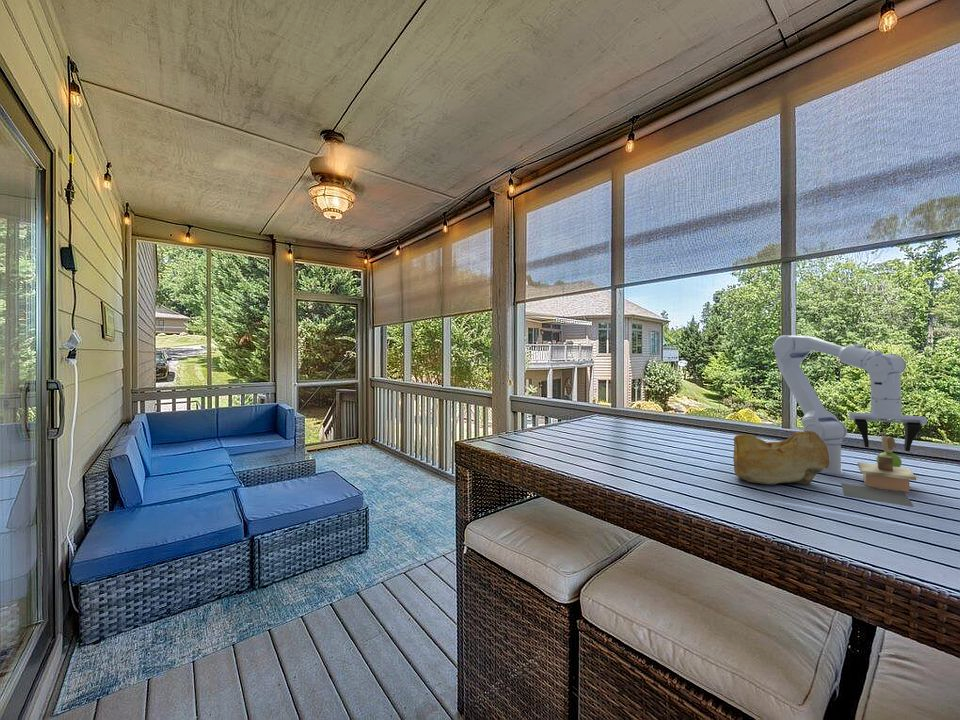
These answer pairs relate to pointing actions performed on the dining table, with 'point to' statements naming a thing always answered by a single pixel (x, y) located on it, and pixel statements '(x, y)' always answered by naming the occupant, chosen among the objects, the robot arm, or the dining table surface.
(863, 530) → the dining table surface
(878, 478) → the tan square open box
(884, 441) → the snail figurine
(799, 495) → the dining table surface
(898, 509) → the dining table surface
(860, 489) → the mat
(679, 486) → the dining table surface
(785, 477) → the rough brown rock
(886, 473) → the lid
